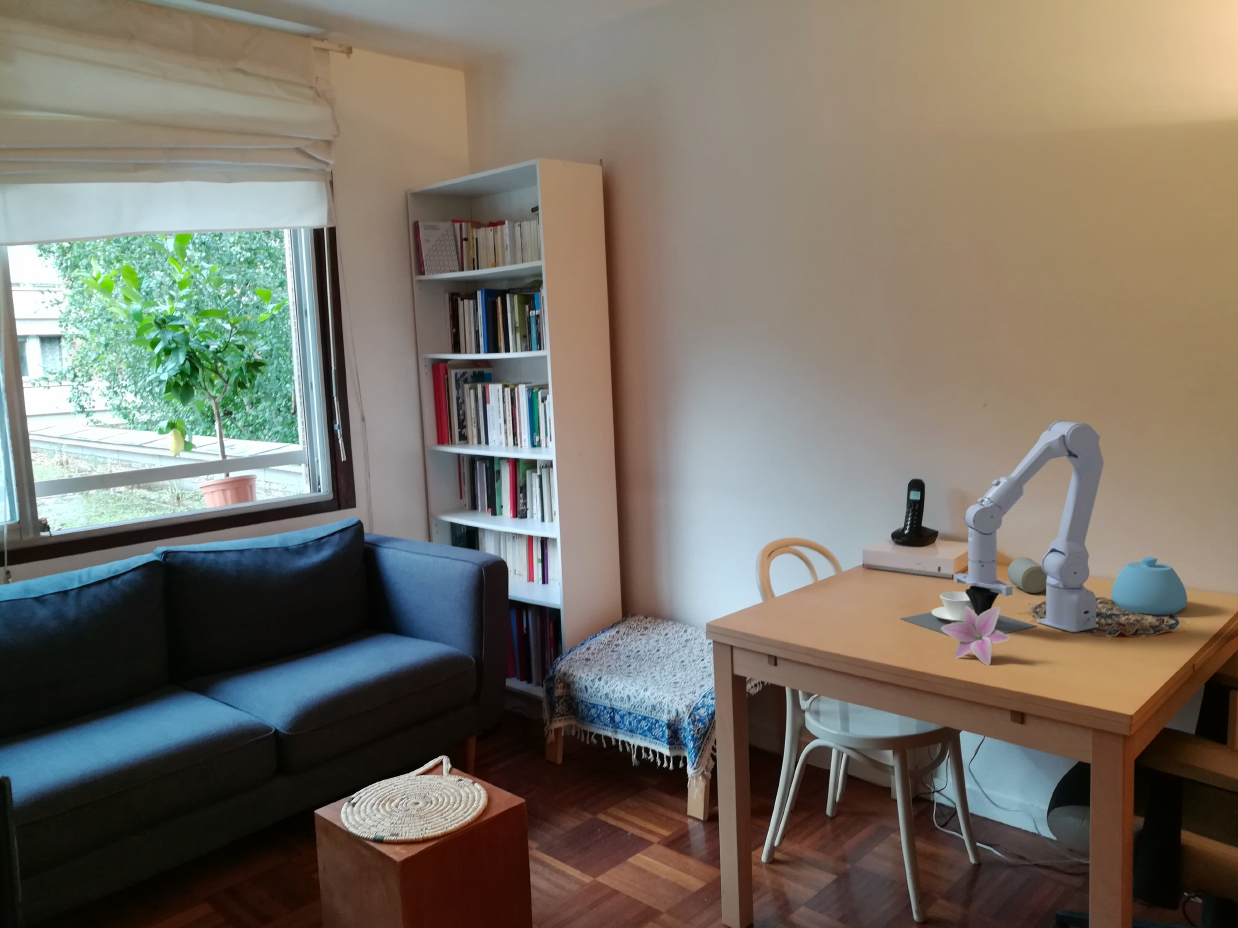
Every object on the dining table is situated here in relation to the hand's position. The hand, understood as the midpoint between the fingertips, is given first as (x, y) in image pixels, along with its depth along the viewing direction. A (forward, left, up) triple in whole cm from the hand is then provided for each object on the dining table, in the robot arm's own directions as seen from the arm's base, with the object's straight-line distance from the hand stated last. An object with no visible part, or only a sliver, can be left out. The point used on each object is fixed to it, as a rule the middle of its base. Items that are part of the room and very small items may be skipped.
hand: (982, 621), depth 199 cm
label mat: (+4, 0, -1) cm, 5 cm away
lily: (-13, +15, -2) cm, 20 cm away
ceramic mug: (+16, -34, -2) cm, 38 cm away
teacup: (+7, 0, -1) cm, 7 cm away
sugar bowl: (-9, -42, -2) cm, 43 cm away
